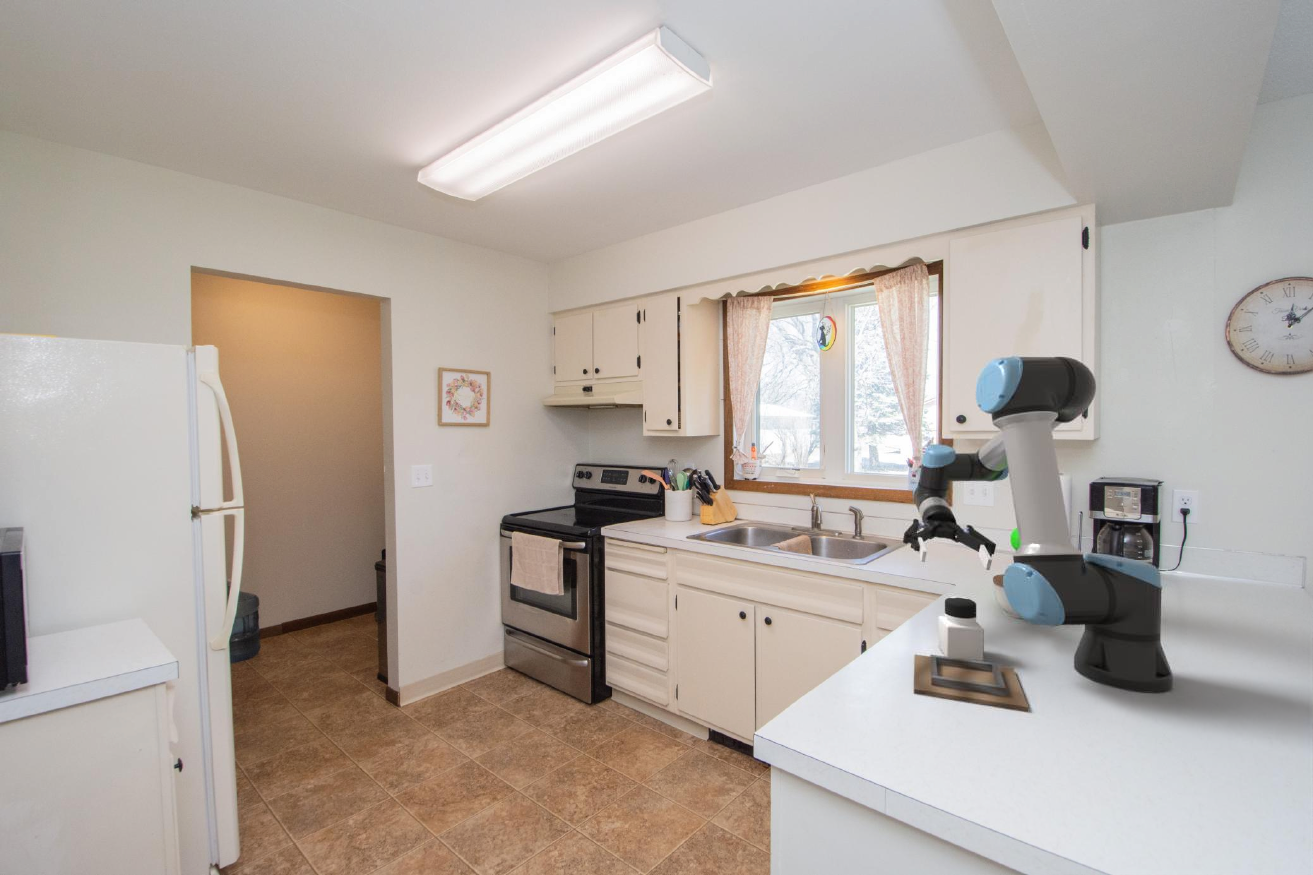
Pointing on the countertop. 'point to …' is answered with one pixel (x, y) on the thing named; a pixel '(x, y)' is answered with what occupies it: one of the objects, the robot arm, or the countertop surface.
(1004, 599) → the lidded bowl
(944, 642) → the medicine bottle
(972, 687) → the dock
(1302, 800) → the countertop surface
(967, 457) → the robot arm
